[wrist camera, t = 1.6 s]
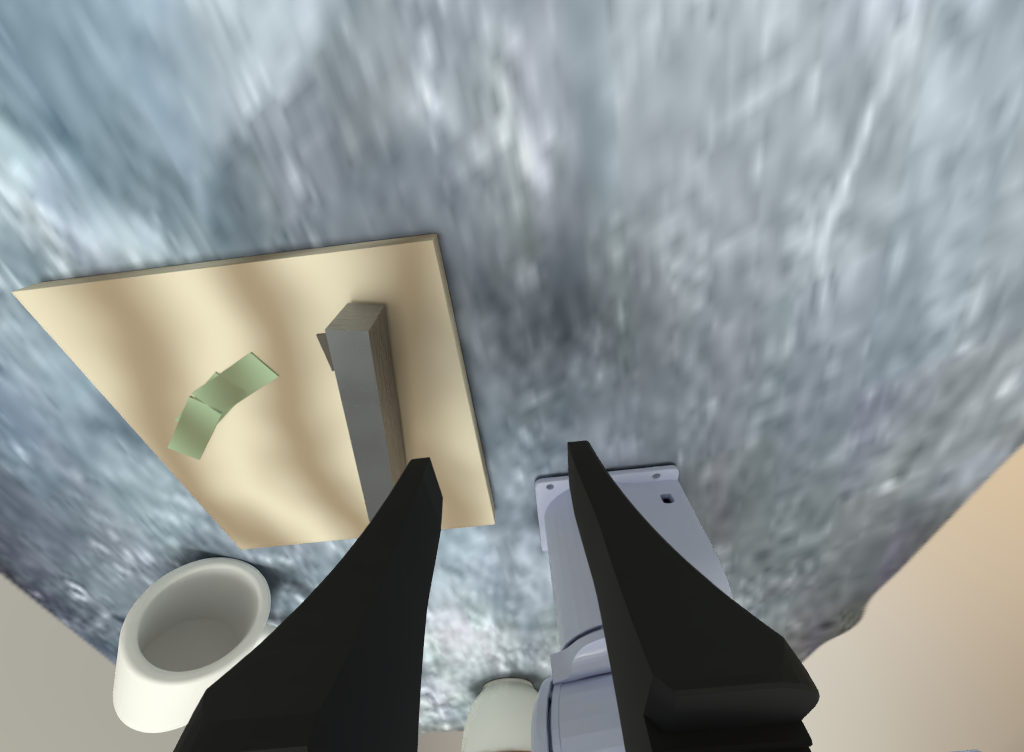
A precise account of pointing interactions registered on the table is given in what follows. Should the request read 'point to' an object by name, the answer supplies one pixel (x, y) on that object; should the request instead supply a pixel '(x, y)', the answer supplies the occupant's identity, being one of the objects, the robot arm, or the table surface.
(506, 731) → the lidded jar
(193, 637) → the mug
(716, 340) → the table surface
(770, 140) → the table surface
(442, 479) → the board
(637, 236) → the table surface
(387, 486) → the pointer
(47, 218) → the table surface
